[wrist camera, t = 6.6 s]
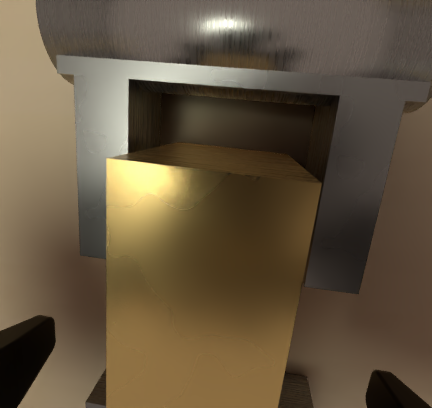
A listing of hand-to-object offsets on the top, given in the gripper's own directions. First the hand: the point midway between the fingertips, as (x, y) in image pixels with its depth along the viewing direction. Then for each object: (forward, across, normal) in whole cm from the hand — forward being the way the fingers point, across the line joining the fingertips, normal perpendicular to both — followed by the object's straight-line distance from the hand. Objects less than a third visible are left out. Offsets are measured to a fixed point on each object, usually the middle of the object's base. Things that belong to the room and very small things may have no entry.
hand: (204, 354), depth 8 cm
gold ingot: (+3, 0, 0) cm, 3 cm away
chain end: (+2, 0, -6) cm, 6 cm away
